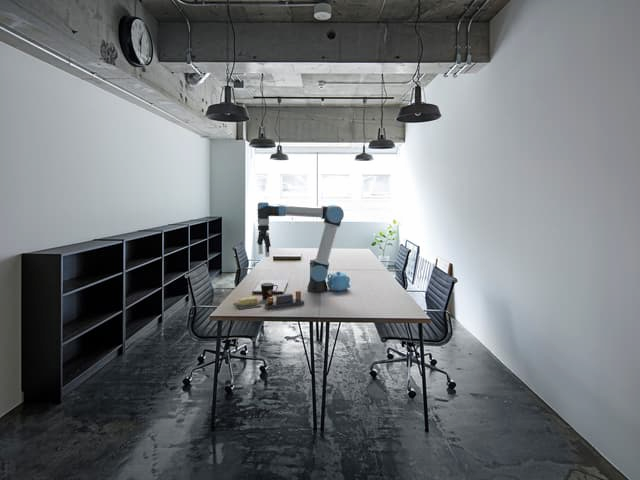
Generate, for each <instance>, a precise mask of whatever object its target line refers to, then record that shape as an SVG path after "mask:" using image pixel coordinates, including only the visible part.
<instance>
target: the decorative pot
mask: <svg viewBox="0 0 640 480" xmlns="http://www.w3.org/2000/svg"><path fill="white" fill-rule="evenodd" d="M326 279H327V281H326V284H327V287H328V289H329V290H330V291H338V292H342V291H345V290H348V289H349V288H351V285H350V282H351V278H350V277H349V276H348V275H347V274H346V273H344V272H343V273H342V271H336V273H329V274H328V275H327V277H326Z"/></svg>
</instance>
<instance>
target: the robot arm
mask: <svg viewBox="0 0 640 480" xmlns="http://www.w3.org/2000/svg"><path fill="white" fill-rule="evenodd" d="M256 210H257V231H258V235H257V241H256V244H257V245H258V255H263V253H264V252H265V255H264V257H265V258H268V257H270V248H271V241H270V240H271V239H270V235H269V234H270V233H269V232H268V231H269V230H270V218H269V217H286V216H288V217H291V216H292V217H307V218H320V219H321V220H323V223H324V229H323V232H322V236H321V240H320V242H319V246H318V250H317V254H316V256H315V257H316V258H314V259H310V261H309V280H308V285H307V287H306V288H307V291H308V292H310V293H325V292H328V289H329V287H328V284H327V281H326V279H327V276H328V275H329V274H328V270H329V267H330V263H329V258H330V256H331V252H332V249H333V248H332V247H333V244H334V241H335V238H336V233H337V230H338V228H340V227H341V223H342V220H343V219H344V216H345V213H344V210H343V208H342V207H341V206H339V205H337V204H331V205H322V206H308V205H307V206H306V205H288V204H286V205H285V204H276V205H275V204H274V205H271V204H269V202H268V201H267V202H263V201H262V202H261V201H260V202H258V203H257V208H256ZM263 242H264V243H263ZM263 244H264V245H265V246H264V247H263ZM263 248H264V250H263ZM263 251H264V252H263Z"/></svg>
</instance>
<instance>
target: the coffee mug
mask: <svg viewBox="0 0 640 480" xmlns="http://www.w3.org/2000/svg"><path fill="white" fill-rule="evenodd" d="M278 286H279V285H277V284H274V283H272V282H263V283H261V284H260V288H261V289H260V290H261V297H262V300H263V301H268V297H273V294H274V293H275V292H276V291H277V290H278V289H279V287H278ZM274 287H276V289H275V290H274Z"/></svg>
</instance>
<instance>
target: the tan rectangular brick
mask: <svg viewBox="0 0 640 480" xmlns="http://www.w3.org/2000/svg"><path fill="white" fill-rule="evenodd" d="M237 302H238V305H239V306H240V307H242V306H250V305H257V303H258V298H257V297H256V296H255V295H254V296H253V295H252V296H245V297H237Z"/></svg>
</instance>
